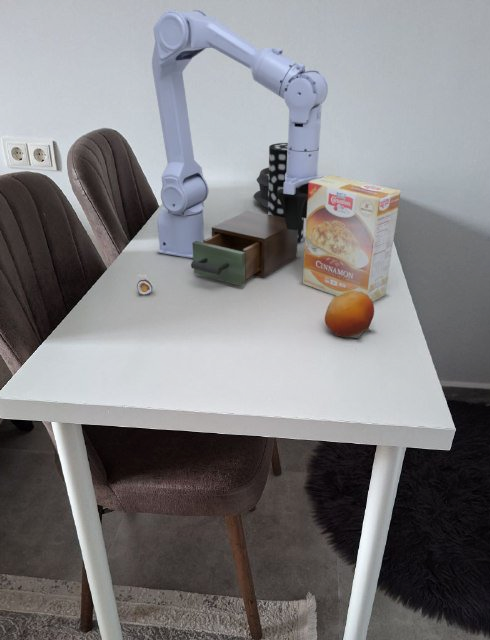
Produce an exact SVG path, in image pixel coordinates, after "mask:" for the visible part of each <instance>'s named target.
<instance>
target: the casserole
mask: <svg viewBox="0 0 490 640" xmlns="http://www.w3.org/2000/svg"><path fill="white" fill-rule="evenodd" d="M256 182H257V183H258V185H259V190H258V191H256V192H255V193H254V194H253V199H254V200H255V201H257V202H258V203H260V204H261V205H262V206H263V207H264V208H265V209H268V183H269V166H268V167H265V168H263V169H261V170H260V172H259V175H258V177H257V178H256Z"/></svg>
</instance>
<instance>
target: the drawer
mask: <svg viewBox="0 0 490 640" xmlns="http://www.w3.org/2000/svg"><path fill="white" fill-rule="evenodd" d="M261 243H262V242H259V241H254V240H250V239H245V238H241V237H236V236H232V235H227V234H223V233H218V234H216V235H214V236H212V235H211V236H210V237H208V238H206V239H205V238H204V240H203V242H199V241H195V242H193V243H192V245H193V258H192V260H193V261H192V262H191V263H190V267H191V269H193V274H196V275H199V276H203V277H207V278H210V279H213V280H218V281H222V282H224V283H225V282H226V283H230V284H233V285H236V286H241V287H242V286H244V285H246V280H248V279H249V278H251V277H253V276H252V275H254V274H255V273H257V272H259V271H260V270H261Z"/></svg>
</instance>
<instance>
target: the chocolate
mask: <svg viewBox="0 0 490 640" xmlns="http://www.w3.org/2000/svg"><path fill="white" fill-rule="evenodd" d="M138 277H141V278H140V279H139V280H138V281H137V283H136V290H137V291H138V294H140V295H142V296H146V295H150V294H151V293H152V291H153V289H154V288H153V285H152V284H151V282H150V281H149V280H147V277H148V274H138Z"/></svg>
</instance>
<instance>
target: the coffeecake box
mask: <svg viewBox="0 0 490 640" xmlns="http://www.w3.org/2000/svg"><path fill="white" fill-rule="evenodd" d="M308 183H309V184H308V202H307V218H305V219H306V223H305V238H304V253H303V254H304V255H303V256H304V257H303V271H302V273H303V274H302V285H305V286H307V287H310V288H314V289H317V290H319V291H322V292H324V293H327V294H330V295H333V296H334V297H336V296H340V295H342V294H344V293H346V292H349V291H357V292H363V293H365V294H367V295H368V296H369V298H370V299H371V300H372V302H373V303H374V302H375V301H378V300H379V299H382V298H383V297H385V296H386V292H387V286H388V280H389V273H390V267H391V260H392V254H393V253H392V252H393V246H394V239H395V233H396V226H397V218H398V212H399V206H400V200H401V199H400V198H401V192H402V191H401V190H400V189H394V188H390V187H386V186H381V185H378V184H374V183H369V182H365V181H361V180H356V179H351V178H347V177H343V176H338V175H334V174H330V175H326V176H323V177H322V178H319V179H314V180H311V181H309V182H308Z"/></svg>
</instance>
